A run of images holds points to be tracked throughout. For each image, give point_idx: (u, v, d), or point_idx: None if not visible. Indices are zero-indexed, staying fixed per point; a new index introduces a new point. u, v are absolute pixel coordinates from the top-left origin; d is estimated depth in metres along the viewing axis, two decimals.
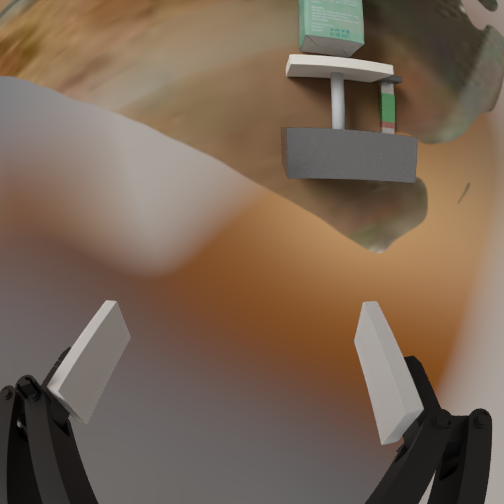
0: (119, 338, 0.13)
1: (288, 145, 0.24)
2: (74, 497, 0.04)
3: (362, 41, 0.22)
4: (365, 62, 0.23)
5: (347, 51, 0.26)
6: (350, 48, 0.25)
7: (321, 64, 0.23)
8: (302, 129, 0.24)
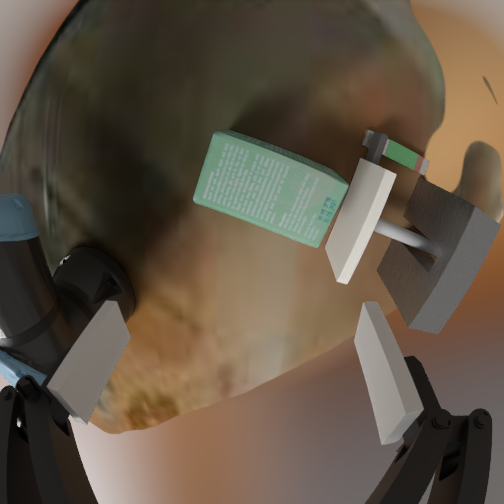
0: (119, 338, 0.13)
1: (419, 329, 0.24)
2: (74, 497, 0.04)
3: (345, 186, 0.23)
4: (374, 205, 0.23)
5: None
6: None
7: (360, 256, 0.25)
8: (416, 317, 0.23)
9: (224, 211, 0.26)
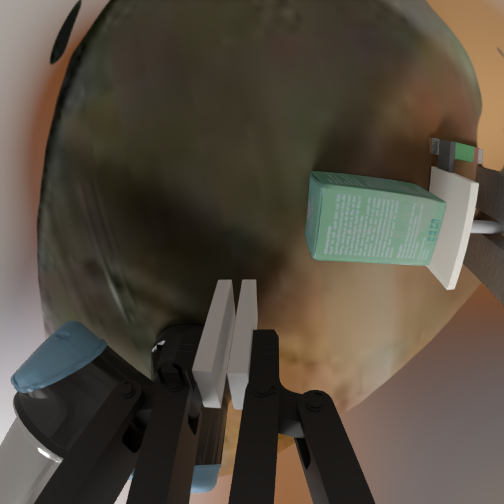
0: (232, 317, 0.15)
1: None
2: None
3: (443, 204, 0.21)
4: (467, 216, 0.20)
5: None
6: None
7: (462, 262, 0.22)
8: None
9: (347, 260, 0.25)
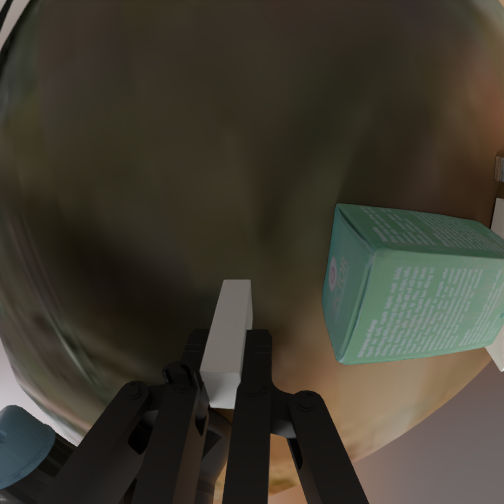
0: None
1: None
2: None
3: None
4: None
5: None
6: None
7: None
8: None
9: (390, 360, 0.13)
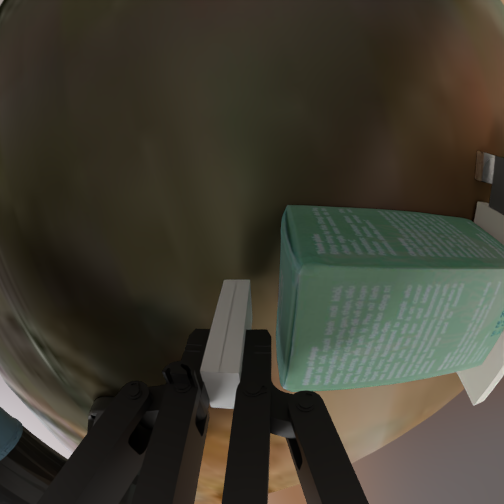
0: None
1: None
2: None
3: None
4: None
5: None
6: None
7: None
8: None
9: (347, 388, 0.12)
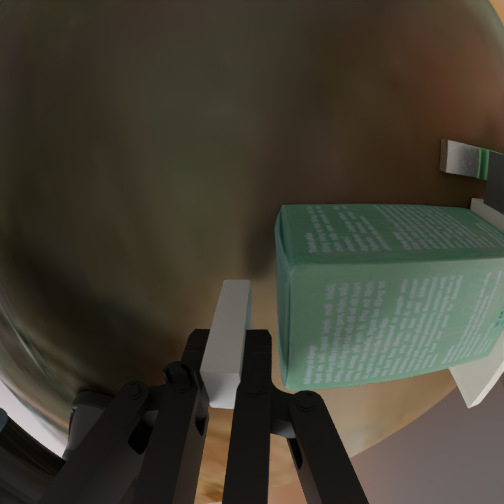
0: None
1: None
2: None
3: None
4: None
5: None
6: None
7: (501, 373, 0.10)
8: None
9: (350, 385, 0.12)
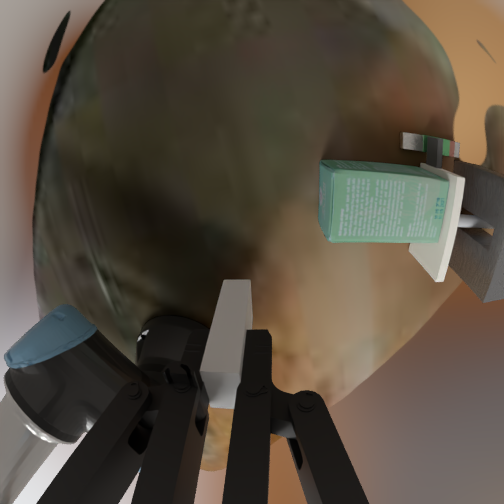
0: None
1: (491, 300, 0.22)
2: None
3: (447, 183, 0.22)
4: (454, 210, 0.22)
5: None
6: None
7: (450, 255, 0.24)
8: (488, 291, 0.21)
9: (360, 240, 0.25)
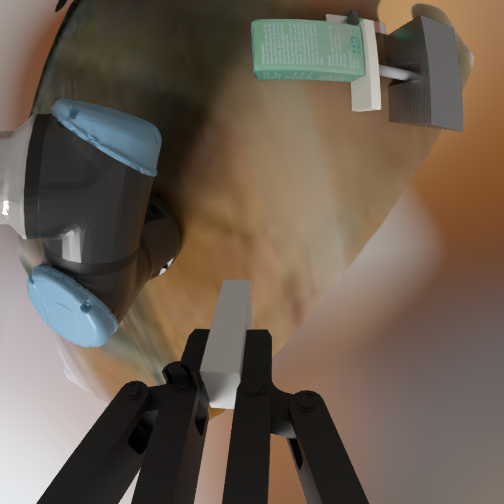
0: None
1: (443, 126, 0.22)
2: None
3: (358, 27, 0.22)
4: (369, 43, 0.22)
5: None
6: None
7: (379, 82, 0.24)
8: (432, 112, 0.22)
9: (283, 68, 0.26)
